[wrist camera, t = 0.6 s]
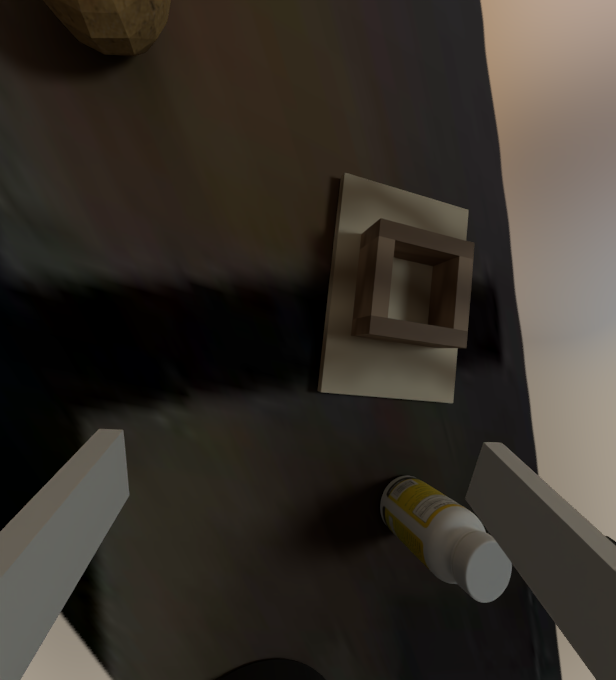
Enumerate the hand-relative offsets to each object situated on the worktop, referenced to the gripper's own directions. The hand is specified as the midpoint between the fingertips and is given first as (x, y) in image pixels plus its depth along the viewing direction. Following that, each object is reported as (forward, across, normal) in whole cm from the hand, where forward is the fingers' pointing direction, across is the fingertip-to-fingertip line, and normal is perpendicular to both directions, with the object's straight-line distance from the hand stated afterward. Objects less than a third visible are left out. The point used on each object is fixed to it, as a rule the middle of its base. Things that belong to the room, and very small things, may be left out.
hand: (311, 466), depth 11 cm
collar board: (+20, -10, -4) cm, 23 cm away
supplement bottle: (+13, -12, +15) cm, 23 cm away
